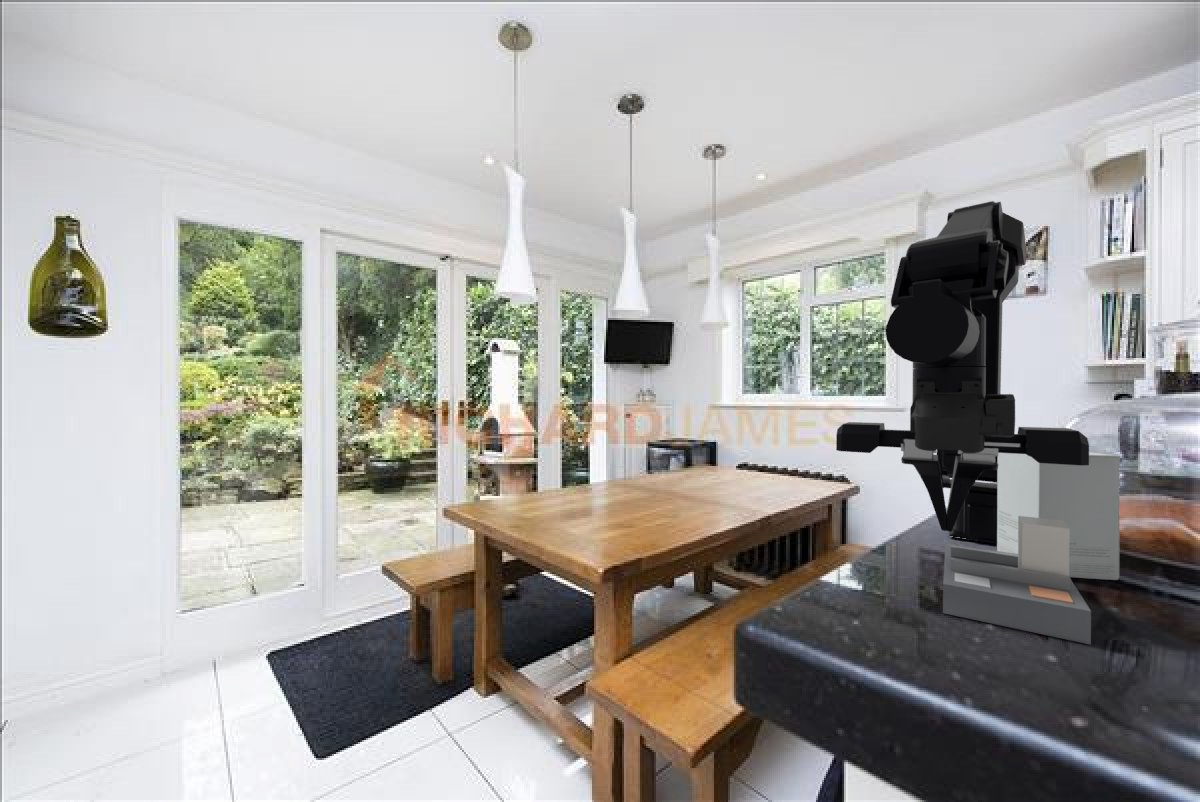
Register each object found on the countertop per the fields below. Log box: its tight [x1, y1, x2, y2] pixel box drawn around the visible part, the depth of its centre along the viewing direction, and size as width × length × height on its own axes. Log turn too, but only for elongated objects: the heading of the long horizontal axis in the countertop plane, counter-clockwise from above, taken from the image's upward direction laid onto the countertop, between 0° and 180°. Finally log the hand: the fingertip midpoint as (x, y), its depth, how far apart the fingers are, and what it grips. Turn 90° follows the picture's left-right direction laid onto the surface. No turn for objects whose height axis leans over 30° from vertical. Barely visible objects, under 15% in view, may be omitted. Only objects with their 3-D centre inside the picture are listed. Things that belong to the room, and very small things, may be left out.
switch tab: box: [1018, 516, 1070, 576], centre depth 43 cm, size 3×3×5 cm
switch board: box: [942, 543, 1092, 646], centre depth 45 cm, size 14×9×4 cm, turn 144°
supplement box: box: [996, 451, 1121, 581], centre depth 53 cm, size 7×7×13 cm
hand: (946, 530), depth 47 cm, fingers closed
